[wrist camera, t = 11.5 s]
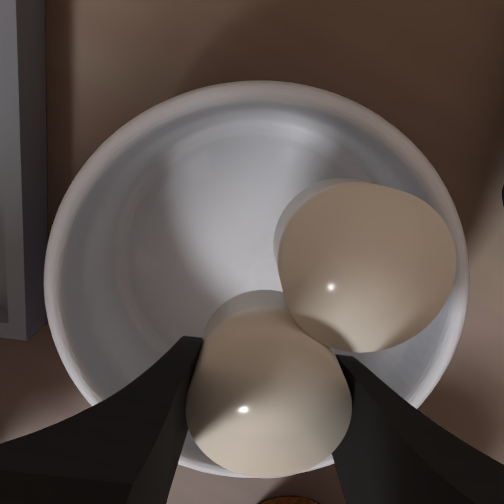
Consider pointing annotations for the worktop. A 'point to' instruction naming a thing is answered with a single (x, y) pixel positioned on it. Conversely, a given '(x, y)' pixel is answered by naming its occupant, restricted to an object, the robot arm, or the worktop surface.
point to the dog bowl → (220, 230)
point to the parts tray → (22, 168)
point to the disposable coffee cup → (289, 501)
